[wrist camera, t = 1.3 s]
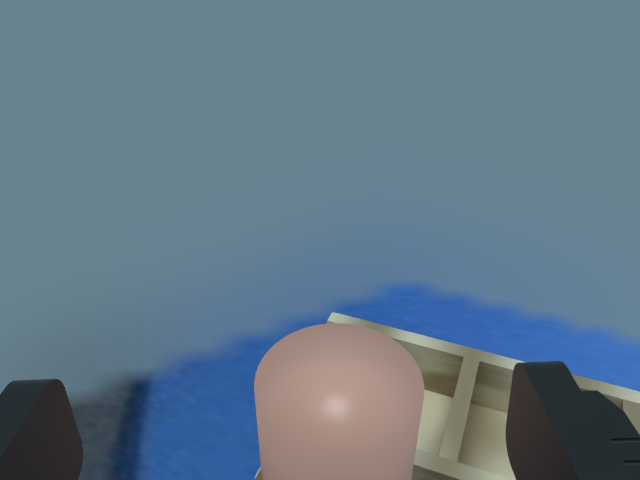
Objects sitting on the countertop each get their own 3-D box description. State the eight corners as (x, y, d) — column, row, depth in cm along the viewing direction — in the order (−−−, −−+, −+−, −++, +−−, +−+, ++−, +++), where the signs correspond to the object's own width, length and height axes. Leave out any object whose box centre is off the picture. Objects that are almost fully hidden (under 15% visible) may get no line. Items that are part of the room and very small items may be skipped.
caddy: (275, 470, 36) (272, 417, 33) (331, 361, 44) (332, 311, 41) (623, 595, 30) (654, 543, 27) (616, 443, 38) (639, 391, 35)
